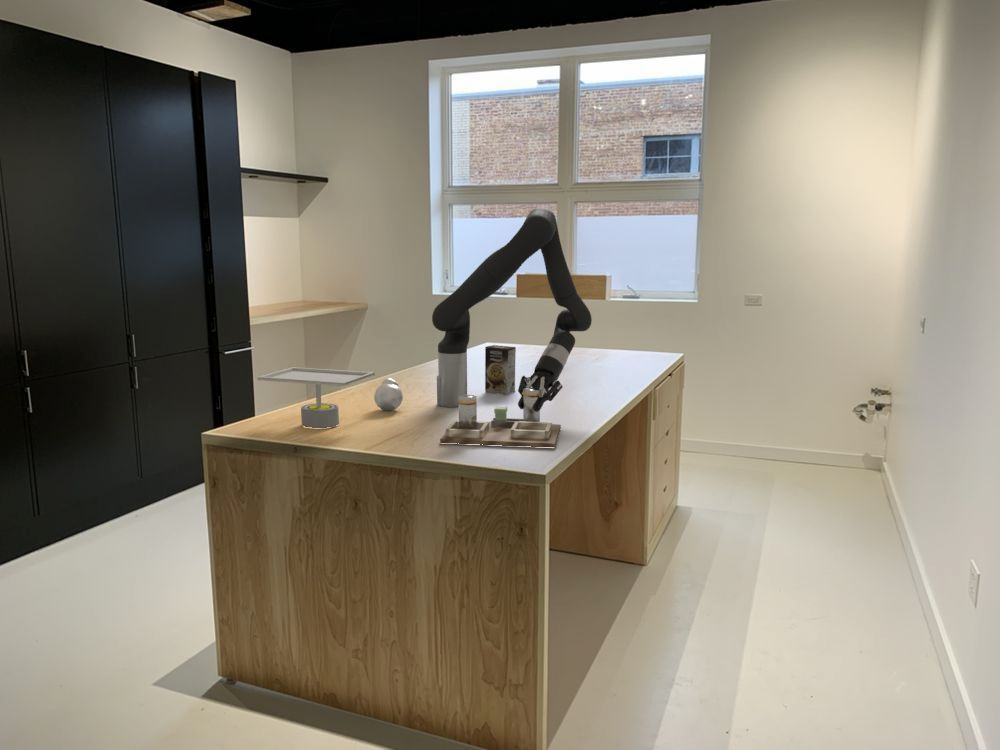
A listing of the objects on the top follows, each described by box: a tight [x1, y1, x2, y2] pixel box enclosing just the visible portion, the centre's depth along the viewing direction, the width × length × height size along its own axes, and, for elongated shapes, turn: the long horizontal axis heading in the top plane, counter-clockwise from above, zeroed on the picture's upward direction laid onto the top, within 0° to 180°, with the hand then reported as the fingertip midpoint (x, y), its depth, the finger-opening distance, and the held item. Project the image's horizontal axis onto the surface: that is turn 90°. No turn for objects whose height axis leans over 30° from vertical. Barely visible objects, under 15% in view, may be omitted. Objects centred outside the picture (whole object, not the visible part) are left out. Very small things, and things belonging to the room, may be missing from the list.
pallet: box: [439, 417, 562, 448], centre depth 203 cm, size 30×20×4 cm, turn 81°
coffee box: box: [484, 344, 517, 395], centre depth 260 cm, size 9×6×16 cm
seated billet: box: [458, 394, 478, 430], centre depth 200 cm, size 5×5×10 cm
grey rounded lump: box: [373, 377, 404, 412], centre depth 234 cm, size 9×10×10 cm
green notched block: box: [493, 406, 508, 421], centre depth 209 cm, size 3×3×5 cm
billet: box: [522, 387, 541, 422], centre depth 217 cm, size 5×5×10 cm
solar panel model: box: [257, 366, 376, 428], centre depth 214 cm, size 28×17×15 cm, turn 71°
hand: (527, 408), depth 215 cm, fingers closed on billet, 4 cm apart
